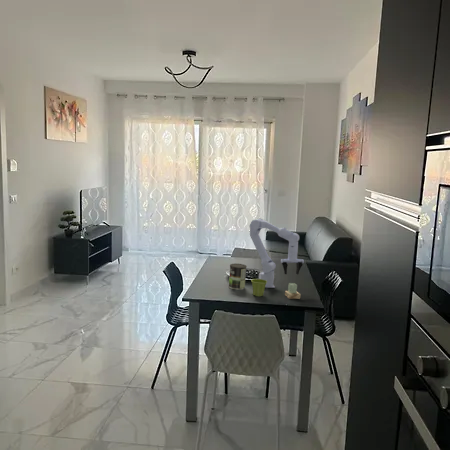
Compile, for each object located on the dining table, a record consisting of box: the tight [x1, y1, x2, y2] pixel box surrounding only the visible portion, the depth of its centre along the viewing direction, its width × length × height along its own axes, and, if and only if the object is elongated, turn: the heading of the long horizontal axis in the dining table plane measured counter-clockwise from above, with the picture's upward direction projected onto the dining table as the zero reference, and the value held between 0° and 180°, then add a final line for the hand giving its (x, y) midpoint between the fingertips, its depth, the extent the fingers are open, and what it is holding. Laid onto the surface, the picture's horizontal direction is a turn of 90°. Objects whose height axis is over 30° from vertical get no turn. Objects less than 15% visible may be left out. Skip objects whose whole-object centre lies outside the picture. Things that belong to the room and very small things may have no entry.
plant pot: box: [250, 278, 267, 297], centre depth 254 cm, size 9×9×9 cm
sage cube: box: [287, 282, 298, 293], centre depth 256 cm, size 4×4×5 cm
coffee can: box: [228, 263, 247, 291], centre depth 267 cm, size 10×10×14 cm
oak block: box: [284, 290, 301, 300], centre depth 256 cm, size 7×7×3 cm
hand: (291, 274), depth 268 cm, fingers open, 7 cm apart
